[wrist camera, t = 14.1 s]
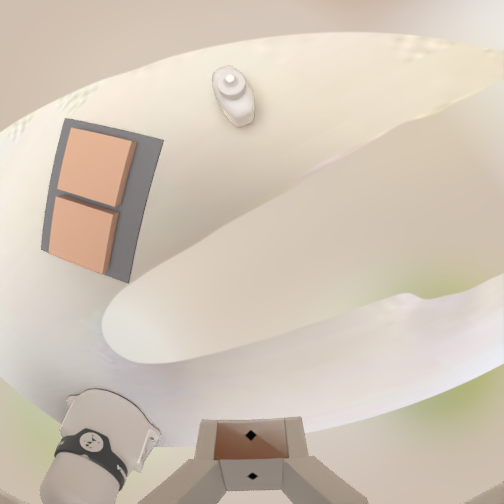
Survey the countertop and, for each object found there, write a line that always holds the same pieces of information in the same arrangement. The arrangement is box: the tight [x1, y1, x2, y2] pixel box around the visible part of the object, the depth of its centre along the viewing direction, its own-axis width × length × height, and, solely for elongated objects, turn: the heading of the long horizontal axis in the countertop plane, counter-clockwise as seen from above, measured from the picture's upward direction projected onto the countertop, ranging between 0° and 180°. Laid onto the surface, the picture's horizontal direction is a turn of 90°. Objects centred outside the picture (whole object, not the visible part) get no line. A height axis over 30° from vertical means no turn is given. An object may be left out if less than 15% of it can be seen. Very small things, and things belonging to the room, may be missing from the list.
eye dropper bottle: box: [212, 65, 255, 127], centre depth 28 cm, size 4×6×12 cm
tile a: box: [49, 195, 119, 274], centre depth 36 cm, size 8×2×9 cm
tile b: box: [57, 128, 137, 207], centre depth 34 cm, size 8×2×9 cm
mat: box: [41, 118, 164, 283], centre depth 36 cm, size 19×15×1 cm
